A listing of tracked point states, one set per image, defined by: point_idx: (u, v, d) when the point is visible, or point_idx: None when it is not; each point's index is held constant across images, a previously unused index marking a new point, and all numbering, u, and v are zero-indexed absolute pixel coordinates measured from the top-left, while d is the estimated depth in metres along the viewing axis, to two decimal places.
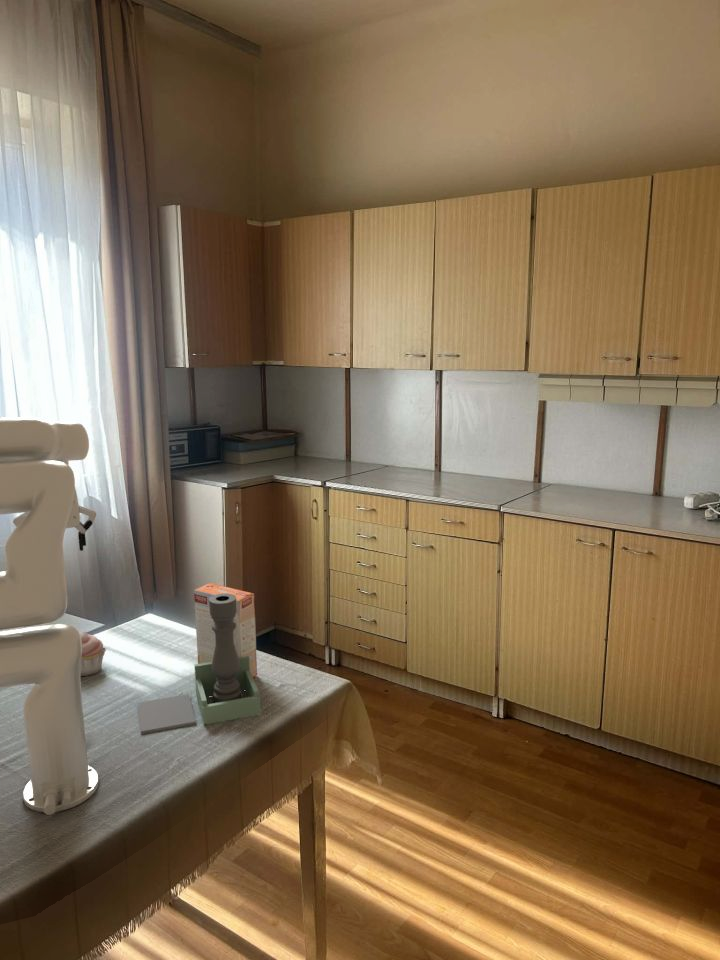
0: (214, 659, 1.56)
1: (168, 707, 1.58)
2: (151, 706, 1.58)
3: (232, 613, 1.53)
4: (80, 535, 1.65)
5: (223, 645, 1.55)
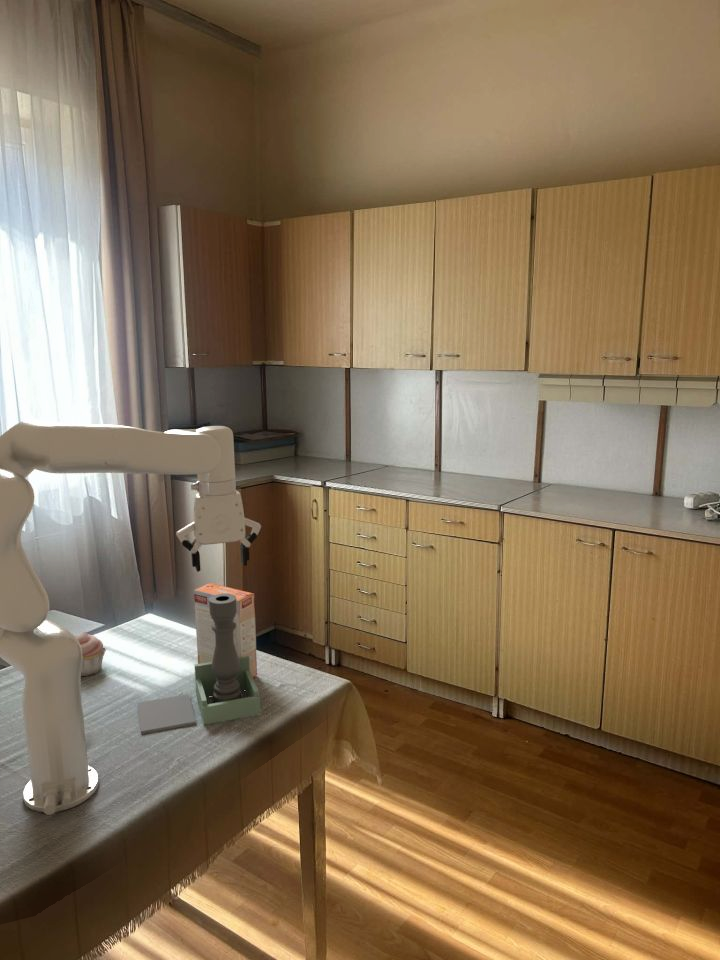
0: (214, 659, 1.56)
1: (168, 707, 1.58)
2: (151, 706, 1.58)
3: (232, 613, 1.53)
4: (245, 549, 1.52)
5: (223, 645, 1.54)
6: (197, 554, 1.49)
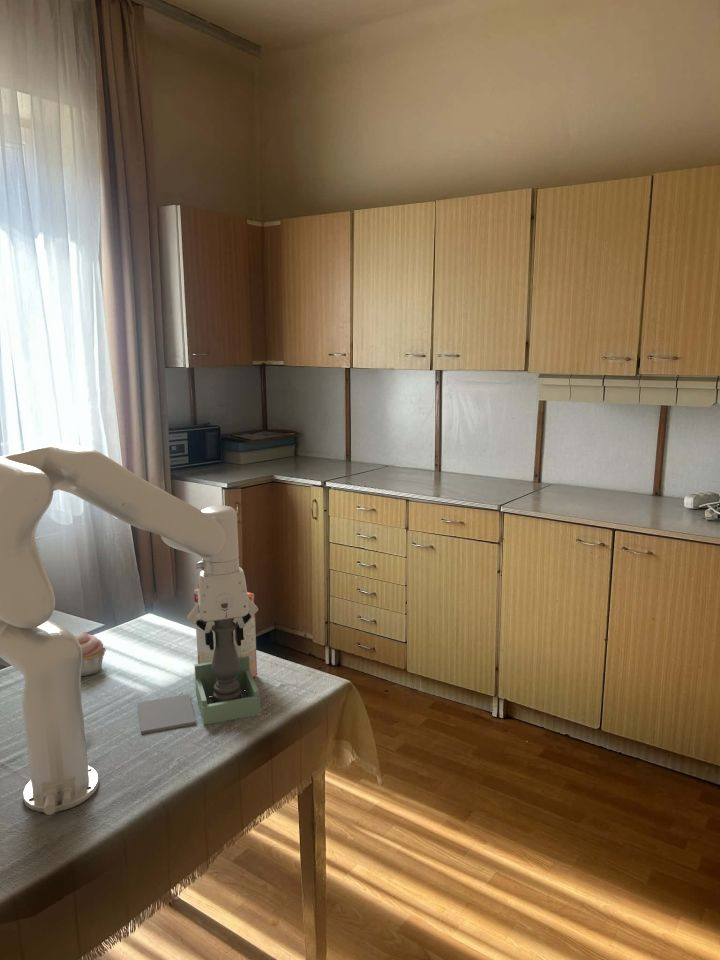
0: (214, 659, 1.56)
1: (168, 707, 1.58)
2: (151, 706, 1.58)
3: None
4: (239, 630, 1.55)
5: (223, 645, 1.55)
6: (211, 634, 1.53)
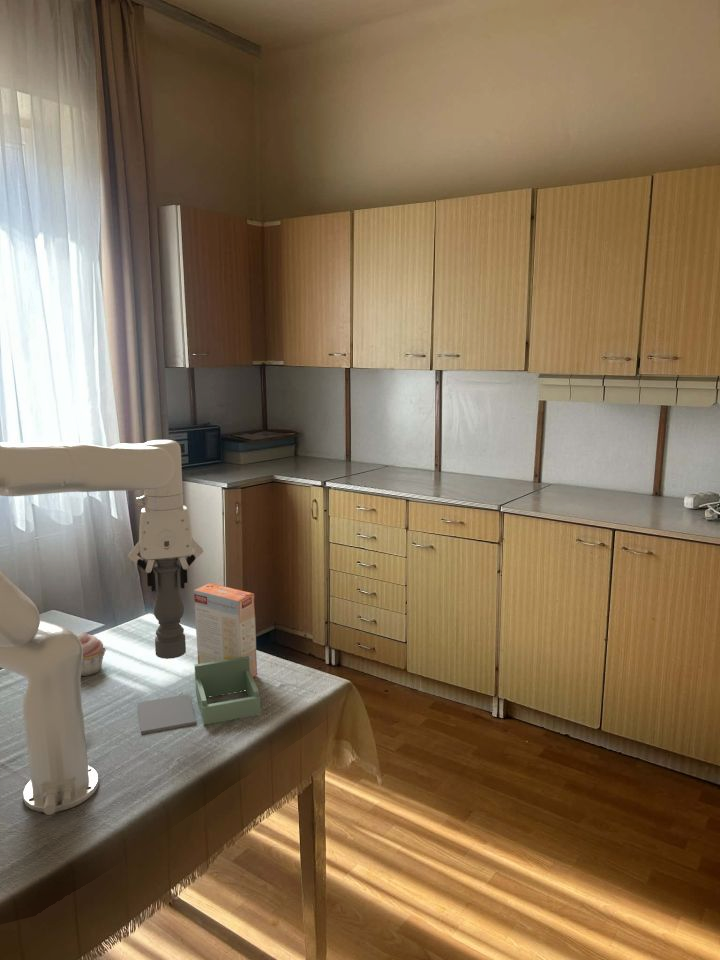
0: (156, 601, 1.49)
1: (168, 707, 1.58)
2: (151, 706, 1.58)
3: None
4: (182, 571, 1.49)
5: (165, 586, 1.48)
6: (152, 574, 1.47)
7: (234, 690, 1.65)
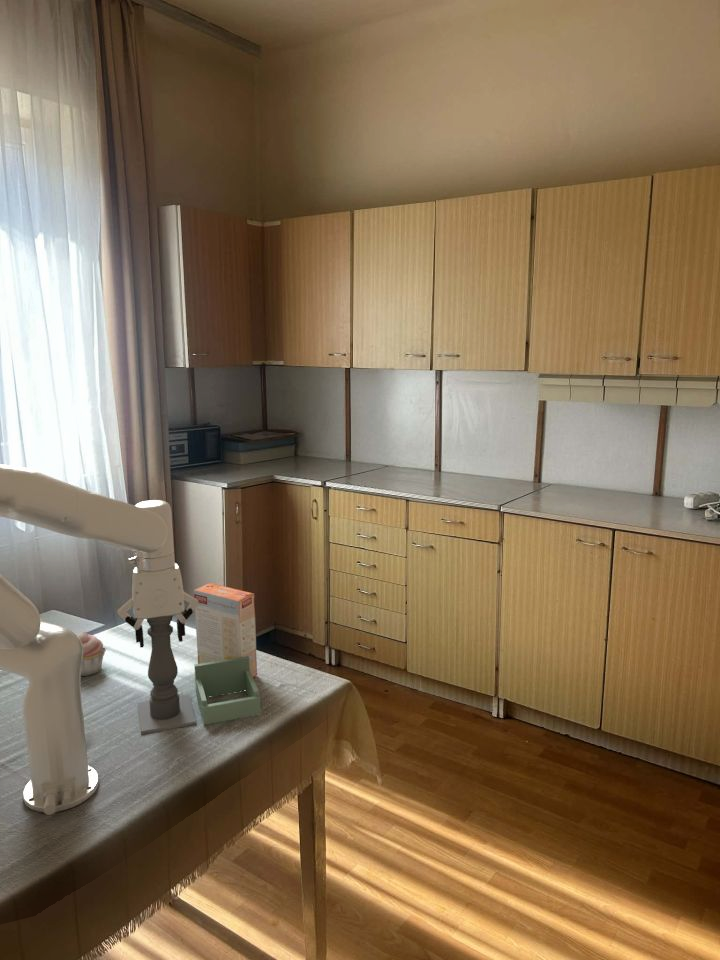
0: (150, 664, 1.52)
1: None
2: None
3: (168, 617, 1.50)
4: (180, 625, 1.52)
5: (159, 650, 1.51)
6: (140, 630, 1.49)
7: (234, 690, 1.65)
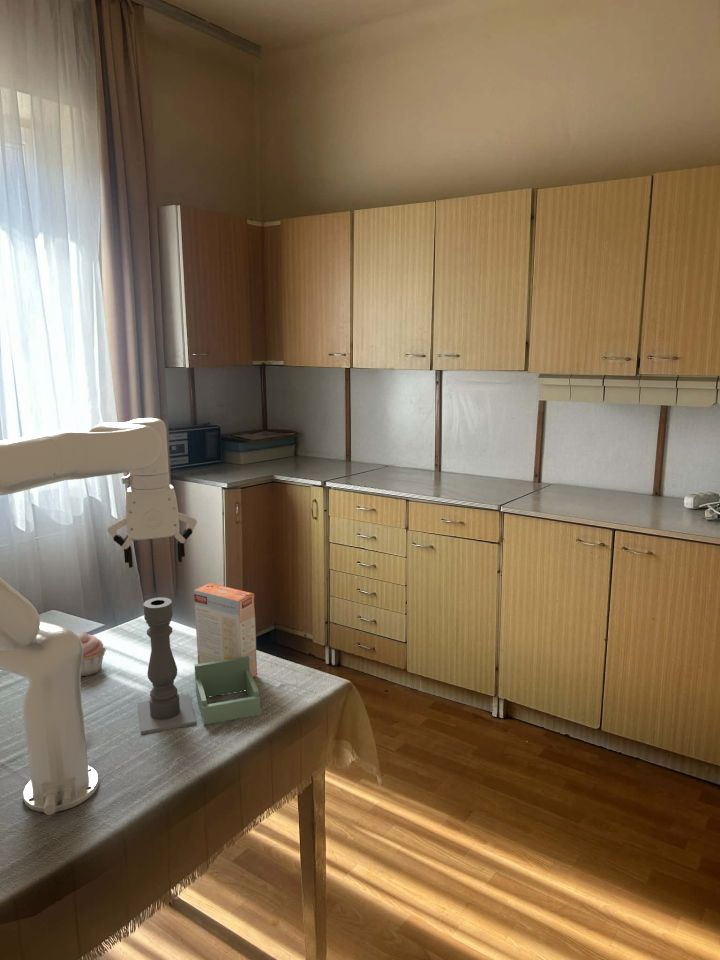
0: (150, 665, 1.52)
1: None
2: None
3: (167, 618, 1.49)
4: (179, 545, 1.48)
5: (158, 650, 1.51)
6: (129, 550, 1.45)
7: (234, 690, 1.65)
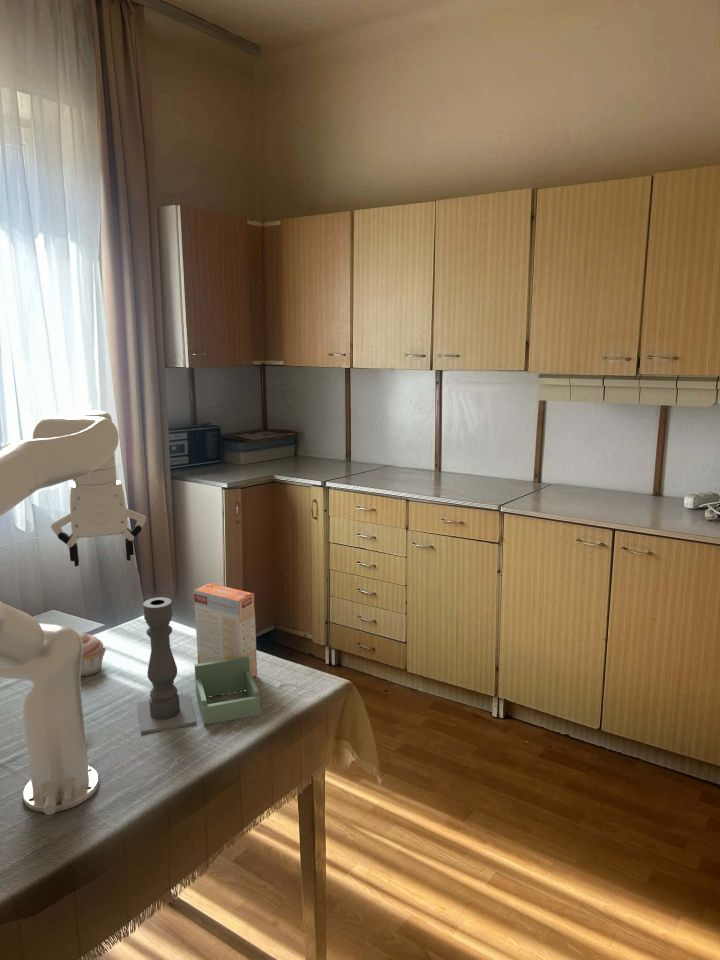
0: (149, 664, 1.52)
1: None
2: None
3: (167, 617, 1.50)
4: (128, 543, 1.43)
5: (158, 650, 1.51)
6: (74, 548, 1.39)
7: (234, 690, 1.65)
